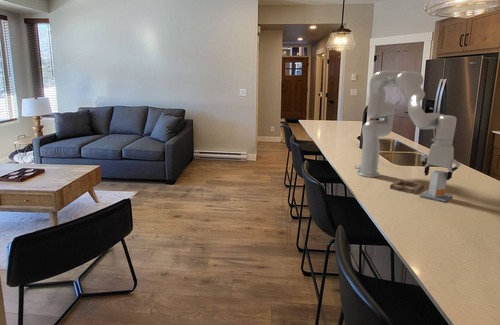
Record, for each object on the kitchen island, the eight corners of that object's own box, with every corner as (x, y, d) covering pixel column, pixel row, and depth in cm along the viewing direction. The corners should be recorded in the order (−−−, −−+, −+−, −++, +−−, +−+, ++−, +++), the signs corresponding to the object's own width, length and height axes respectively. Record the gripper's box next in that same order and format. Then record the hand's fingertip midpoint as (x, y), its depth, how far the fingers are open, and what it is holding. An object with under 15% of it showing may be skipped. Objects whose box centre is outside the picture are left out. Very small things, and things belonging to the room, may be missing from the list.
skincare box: (434, 197, 167) (438, 173, 164) (427, 194, 171) (431, 170, 168) (444, 196, 169) (448, 172, 166) (437, 193, 173) (441, 169, 170)
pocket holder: (389, 188, 183) (390, 184, 182) (399, 183, 192) (399, 179, 191) (415, 194, 174) (415, 190, 174) (423, 188, 184) (424, 184, 183)
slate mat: (419, 197, 170) (420, 195, 170) (427, 191, 178) (427, 190, 178) (444, 202, 163) (445, 201, 163) (451, 196, 171) (451, 195, 170)
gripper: (421, 140, 167) (415, 174, 172) (462, 146, 156) (455, 183, 160) (426, 138, 172) (420, 171, 177) (466, 144, 161) (459, 179, 166)
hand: (437, 177), depth 169 cm, fingers open, 9 cm apart
